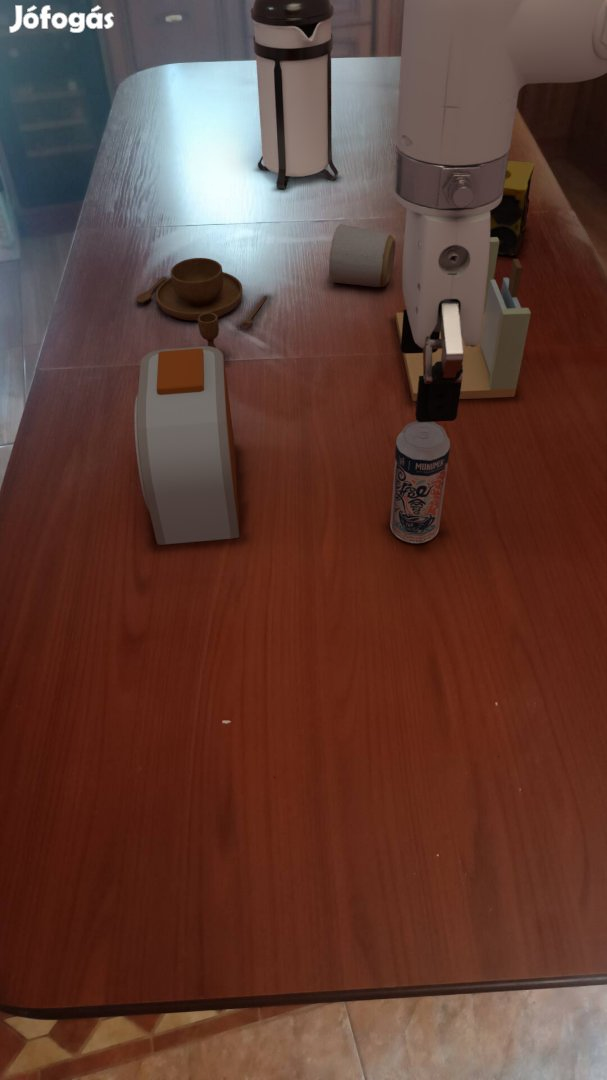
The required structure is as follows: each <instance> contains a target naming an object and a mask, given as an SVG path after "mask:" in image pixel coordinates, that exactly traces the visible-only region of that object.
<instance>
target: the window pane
mask: <svg viewBox="0 0 607 1080" xmlns="http://www.w3.org/2000/svg"><path fill="white" fill-rule="evenodd" d="M522 271H523V266H522V264H521V262H520V259H519V258H512V263H511V269H510V275H509V277H503V278H502V284H501V290H500V293H501V296H502V298H503V300H504V303H505V305H506V308H507V309H509V308H522V306H521V304H520V302H519V300H518V294H519V288H520V283H521V276H522Z"/></svg>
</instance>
